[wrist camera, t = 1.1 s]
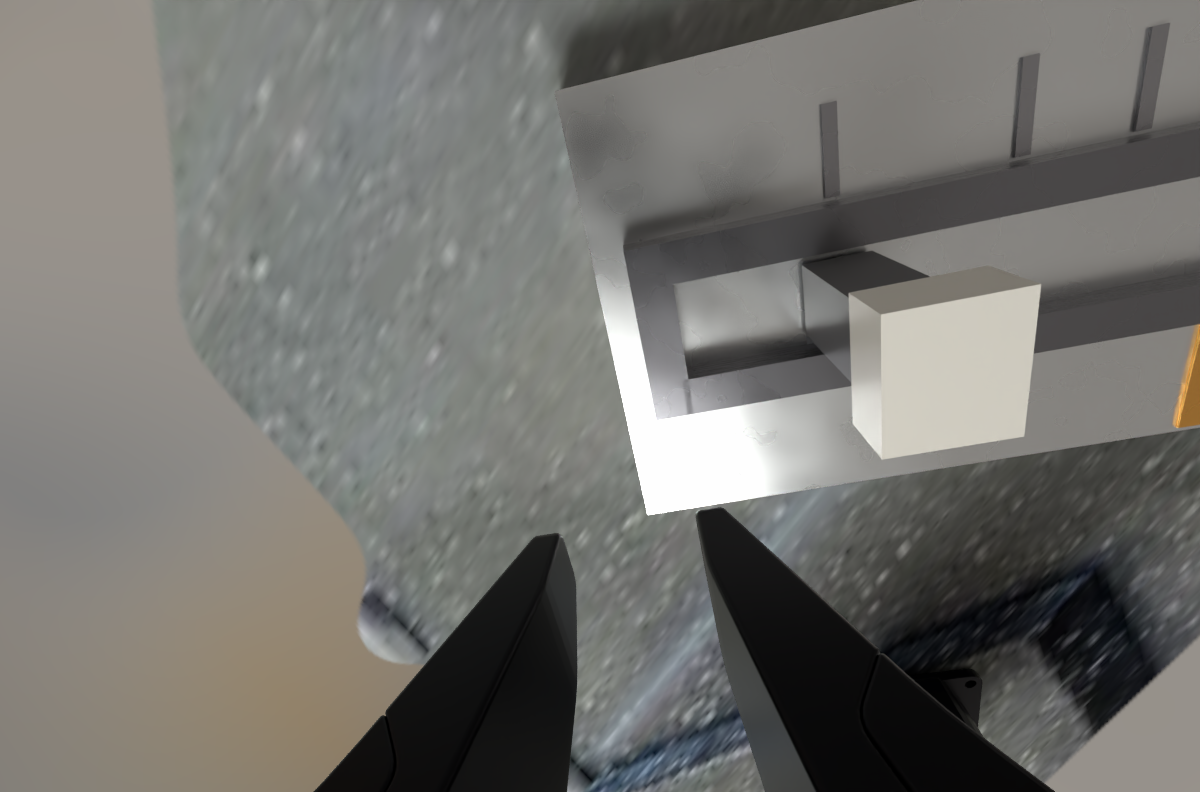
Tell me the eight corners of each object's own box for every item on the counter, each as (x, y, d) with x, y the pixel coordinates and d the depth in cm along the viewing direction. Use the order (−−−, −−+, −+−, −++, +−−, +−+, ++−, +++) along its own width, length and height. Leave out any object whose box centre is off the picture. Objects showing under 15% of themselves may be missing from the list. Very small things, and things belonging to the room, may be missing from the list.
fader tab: (886, 335, 17) (1023, 436, 11) (794, 352, 18) (881, 460, 12) (886, 230, 16) (1041, 283, 10) (786, 250, 16) (881, 314, 10)
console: (1320, 373, 20) (1433, 411, 17) (645, 484, 22) (649, 532, 20) (1495, -137, 14) (1708, -203, 11) (561, 96, 17) (550, 88, 14)
